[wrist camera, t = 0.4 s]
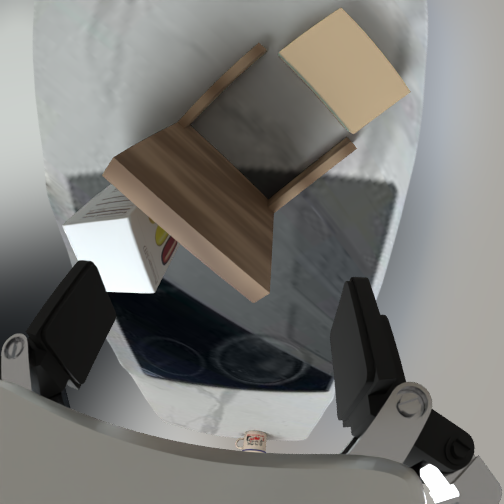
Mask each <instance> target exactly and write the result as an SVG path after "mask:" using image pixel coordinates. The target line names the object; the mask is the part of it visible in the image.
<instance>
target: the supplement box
mask: <svg viewBox="0 0 504 504" xmlns="http://www.w3.org/2000/svg"><path fill="white" fill-rule="evenodd" d="M63 228H64V230H65V233H66V235H67V237H68V239H69V242H70V244H71V246H72V248H73V251H74V253H75V255H76V257H77V259H78V261H79V260H86V261H92V262H93V263H94V264H95V265H96V266H97V268H98V271H99V273H100V276H101V278H102V281H103V284H104V286H105V289H106V291H107V292H132V293H155V291H156V289H157V287H158V285H159V283H160V281H161V279H162V277H163V275H164V273H165V271H166V270H167V268H168V266H169V264H170V262H171V260H172V258H173V256H174V254H175V253H176V251H177V249H178V247H179V245H180V243H179V242H178V241H176V240H175V239H174V238H173V237H172V236H171V235H169V234H168V233H167V232H166V231H165V230H164V229H162V228H161V227H160V226H159V225H158V224H157V223H155V222H154V221H153V220H152V219H151V218H150V217H148V216H147V215H146V214H145V213H144V212H143V211H142V210H140V209H139V208H138V207H137V206H136V205H135V204H134V203H132V202H131V201H130V200H129V199H128V198H127V197H126V196H125V195H123V194H122V193H121V192H120V191H119V190H118V189H117V188H116V187H115V186H113V185H112V184H111V185H109V186H108V187H107V188H106V189H104V190H103V191H102V192H100V193H99V194H97V195H96V196H95V197H94V198H93V199H91V200H90V201H89V202H88V203H87V204H86V205H85V206H83V207H82V208H81V209H80V210H79V211H78V212H76V213H75V214H74V215H73V216H72V217H71V218H70V219H68V220H67V221H66V222H65V223H64V224H63Z"/></svg>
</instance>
